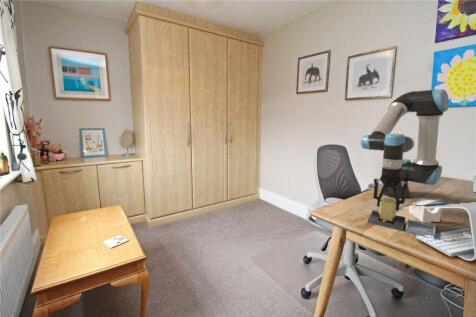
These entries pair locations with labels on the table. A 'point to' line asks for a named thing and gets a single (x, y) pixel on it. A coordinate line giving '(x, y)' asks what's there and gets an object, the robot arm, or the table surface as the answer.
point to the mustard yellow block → (387, 209)
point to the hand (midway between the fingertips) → (387, 214)
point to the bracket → (425, 213)
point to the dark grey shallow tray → (397, 220)
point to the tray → (419, 228)
